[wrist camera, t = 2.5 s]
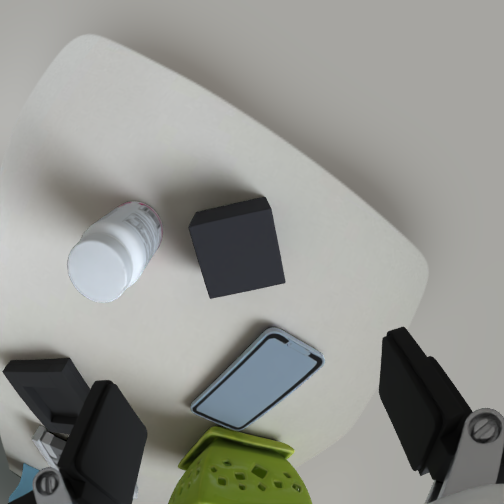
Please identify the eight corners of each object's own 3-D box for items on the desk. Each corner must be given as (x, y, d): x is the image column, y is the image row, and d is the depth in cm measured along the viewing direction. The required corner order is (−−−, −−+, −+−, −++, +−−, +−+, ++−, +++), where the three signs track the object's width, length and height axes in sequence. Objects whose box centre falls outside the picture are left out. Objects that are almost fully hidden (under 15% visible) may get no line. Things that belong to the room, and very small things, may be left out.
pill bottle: (111, 253, 24) (66, 303, 16) (109, 199, 22) (56, 230, 15) (164, 259, 24) (135, 313, 17) (165, 202, 23) (130, 236, 15)
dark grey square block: (213, 275, 25) (209, 299, 22) (195, 212, 23) (188, 226, 20) (278, 261, 25) (285, 283, 21) (265, 196, 23) (271, 208, 19)
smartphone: (186, 410, 30) (271, 327, 26) (187, 404, 31) (270, 321, 27) (240, 432, 32) (329, 360, 28) (240, 426, 33) (327, 354, 29)
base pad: (54, 420, 33) (49, 431, 31) (10, 360, 29) (2, 371, 26) (116, 424, 33) (111, 437, 30) (69, 357, 28) (61, 371, 26)
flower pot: (304, 435, 34) (320, 516, 22) (253, 476, 38) (258, 542, 27) (203, 409, 31) (196, 505, 19) (168, 456, 35) (159, 529, 24)
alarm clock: (31, 438, 31) (121, 476, 31) (42, 420, 35) (129, 453, 35) (61, 481, 37) (136, 510, 37) (68, 465, 41) (141, 492, 41)
